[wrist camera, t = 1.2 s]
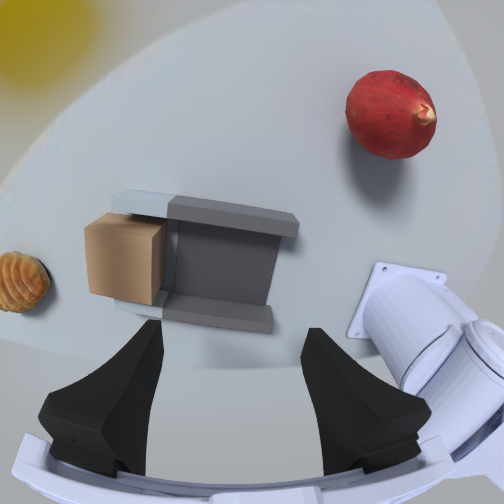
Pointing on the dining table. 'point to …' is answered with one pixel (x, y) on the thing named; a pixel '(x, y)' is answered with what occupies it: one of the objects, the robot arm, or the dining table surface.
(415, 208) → the dining table surface
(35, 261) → the pastry
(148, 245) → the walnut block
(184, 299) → the grey i-beam block
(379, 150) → the pomegranate
